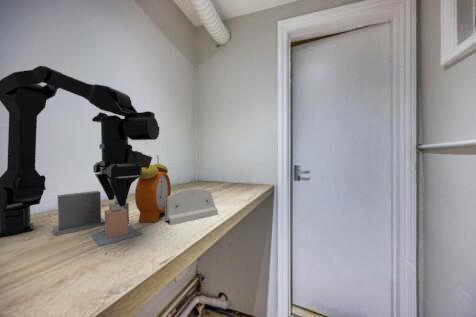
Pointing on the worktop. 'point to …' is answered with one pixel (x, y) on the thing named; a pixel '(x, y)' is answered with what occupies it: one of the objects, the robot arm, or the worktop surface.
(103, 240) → the mat
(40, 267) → the worktop surface
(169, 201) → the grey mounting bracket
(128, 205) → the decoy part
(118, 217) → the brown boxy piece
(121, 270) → the worktop surface
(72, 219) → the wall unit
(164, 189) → the alarm clock
